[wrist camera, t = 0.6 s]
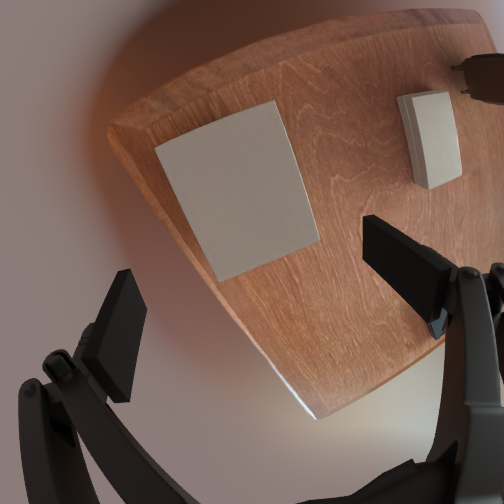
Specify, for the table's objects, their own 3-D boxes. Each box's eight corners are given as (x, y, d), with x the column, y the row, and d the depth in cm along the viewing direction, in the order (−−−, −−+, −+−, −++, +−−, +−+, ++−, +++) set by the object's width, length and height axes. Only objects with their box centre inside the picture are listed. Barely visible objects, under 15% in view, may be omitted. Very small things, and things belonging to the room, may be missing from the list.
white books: (395, 96, 28) (410, 96, 25) (433, 90, 28) (448, 89, 25) (414, 184, 33) (428, 190, 30) (448, 170, 33) (462, 175, 30)
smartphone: (450, 271, 40) (460, 318, 45) (445, 267, 41) (456, 313, 47) (421, 300, 41) (435, 342, 46) (415, 295, 42) (431, 337, 48)
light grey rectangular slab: (156, 146, 21) (153, 148, 20) (270, 101, 21) (274, 99, 20) (217, 275, 27) (218, 283, 26) (314, 234, 27) (320, 240, 25)
